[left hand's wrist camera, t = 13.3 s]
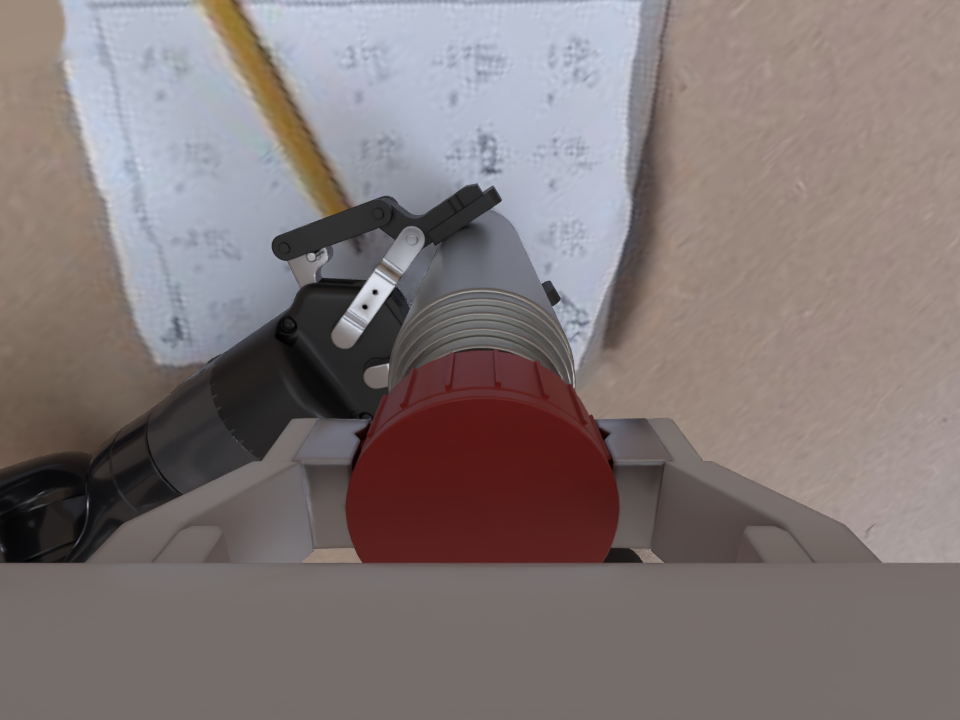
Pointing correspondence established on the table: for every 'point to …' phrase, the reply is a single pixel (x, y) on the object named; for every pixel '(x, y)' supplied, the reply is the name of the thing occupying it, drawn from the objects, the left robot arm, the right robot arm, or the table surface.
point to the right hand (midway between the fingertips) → (525, 243)
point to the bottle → (481, 304)
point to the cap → (482, 469)
